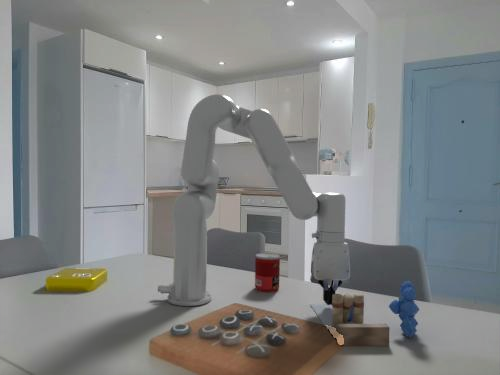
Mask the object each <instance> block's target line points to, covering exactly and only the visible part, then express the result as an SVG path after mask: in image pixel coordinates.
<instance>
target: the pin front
mask: <svg viewBox="0 0 500 375" xmlns="http://www.w3.org/2000/svg"><path fill="white" fill-rule="evenodd" d="M352 304H353V296H352V295H351V294H348V293H345V294H343V322H342V324H347V321H348V318H349V314H350V311H351V308H352Z"/></svg>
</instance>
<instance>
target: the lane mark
mask: <svg viewBox="0 0 500 375" xmlns="http://www.w3.org/2000/svg"><path fill="white" fill-rule="evenodd" d="M309 305H310V307H311V309H312V310H313V312H314V313H315V314H316V315H317V317H318V318H319V320H320V321H321V323H322V324H323V325H324V326H325V325H328V326H331V327H332V305H327V304H326V303H325V304H324V303H317V304H316V303H315V304H314V303H310V304H309ZM347 324H353V320H351V321H347Z"/></svg>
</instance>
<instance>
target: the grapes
mask: <svg viewBox="0 0 500 375" xmlns="http://www.w3.org/2000/svg"><path fill="white" fill-rule="evenodd" d="M399 291H400V293H401V295H399V297H398V299H394V300H392V301H391V302H390V303H389V305H388V307H389V309H390V311H391V312H392V313H393V314H394V315H398V318H399V319H400V320H401V323H400V324H399V326H400V328H401V329H400V330H401V331H402V332H403V334H404V335H405V336H406V337H408V338H412V337H413V336H415V334H416V332H417V331H418V329H417V328H416V327H417V326H418V325H419V322H418V321H417V319H416V318H415V317H416V315H417V314H418V312H419V311H420V308H419V307H418V305H417V304H416V302H415V301H414V300H415V299H416V298H417V297H418V294H417V293H416V287H415V285H414V283H413V282H411V281H410V280H406V281H404V282H403V283H402V284H401V286H400V288H399Z"/></svg>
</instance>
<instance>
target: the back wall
mask: <svg viewBox="0 0 500 375" xmlns="http://www.w3.org/2000/svg"><path fill="white" fill-rule="evenodd" d="M336 331H337V332H338V333H339V334H341V335H343V338H344V344H343V346H342V347H365V346H366V347H370V346H371V347H374V346H375V347H376V346H377V347H380V346H381V347H384V346H385V347H386V346H387V347H388V346H390V326H389V325H388V324H386V323H363V324H337V328H336Z"/></svg>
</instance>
